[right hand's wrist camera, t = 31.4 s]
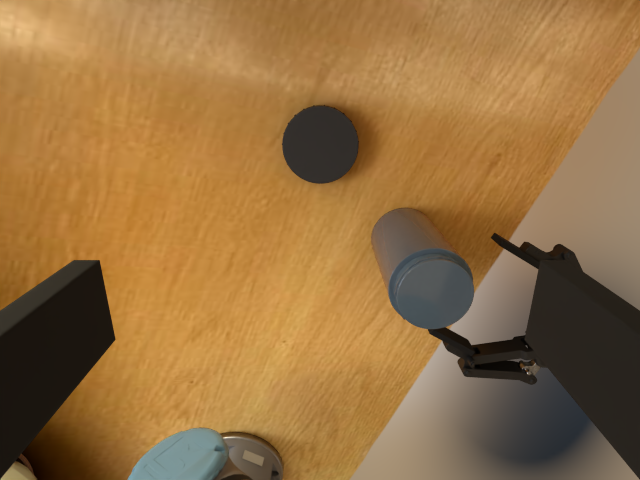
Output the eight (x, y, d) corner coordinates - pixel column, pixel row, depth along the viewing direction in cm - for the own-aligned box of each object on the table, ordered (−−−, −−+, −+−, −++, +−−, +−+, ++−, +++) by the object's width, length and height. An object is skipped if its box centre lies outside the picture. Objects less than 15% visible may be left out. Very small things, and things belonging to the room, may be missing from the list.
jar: (413, 195, 53) (451, 237, 37) (446, 244, 55) (495, 304, 40) (358, 231, 55) (374, 287, 39) (393, 278, 57) (420, 348, 42)
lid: (274, 168, 52) (272, 171, 50) (295, 94, 49) (294, 94, 47) (343, 189, 53) (344, 193, 51) (367, 118, 50) (369, 119, 48)
